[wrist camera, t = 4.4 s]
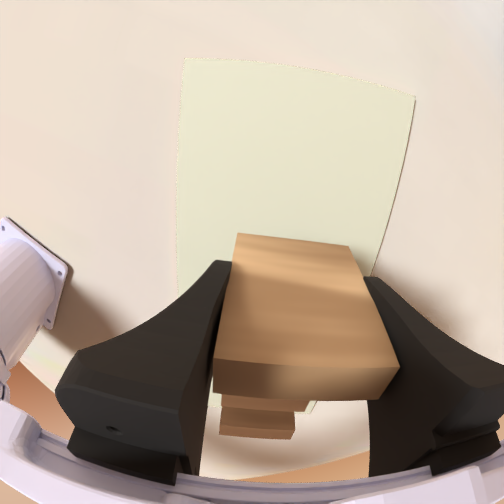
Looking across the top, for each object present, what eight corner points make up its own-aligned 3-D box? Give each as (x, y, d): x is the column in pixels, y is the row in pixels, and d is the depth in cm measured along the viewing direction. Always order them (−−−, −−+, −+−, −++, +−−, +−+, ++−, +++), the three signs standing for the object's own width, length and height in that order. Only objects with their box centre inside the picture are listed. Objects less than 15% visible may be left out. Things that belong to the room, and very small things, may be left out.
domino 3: (287, 367, 24) (290, 439, 18) (228, 362, 24) (219, 434, 18) (290, 355, 23) (295, 430, 17) (229, 350, 23) (219, 424, 17)
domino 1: (339, 275, 14) (378, 399, 8) (234, 264, 14) (212, 392, 8) (348, 246, 13) (400, 366, 7) (237, 232, 13) (213, 357, 7)
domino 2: (297, 333, 22) (304, 411, 16) (231, 327, 22) (220, 405, 16) (301, 318, 21) (311, 398, 15) (233, 311, 21) (221, 391, 15)
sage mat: (309, 410, 28) (309, 413, 28) (187, 399, 28) (186, 402, 28) (412, 96, 14) (415, 96, 13) (186, 59, 14) (184, 58, 13)
